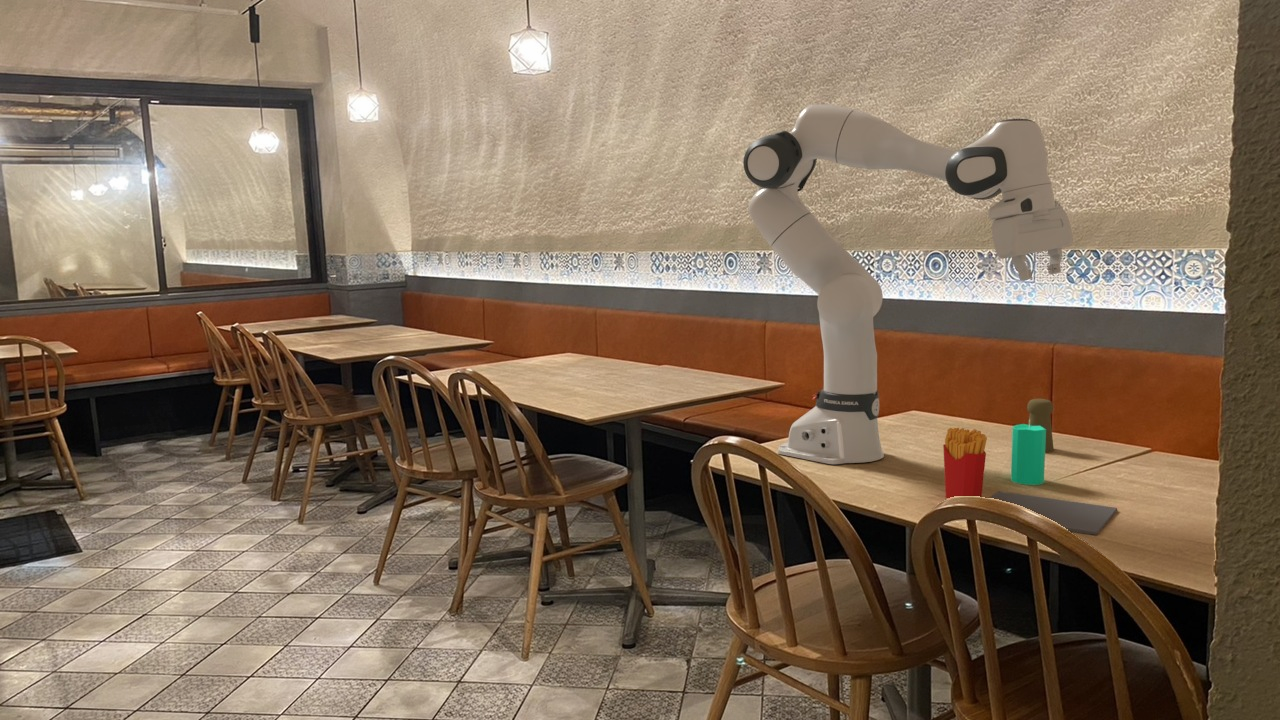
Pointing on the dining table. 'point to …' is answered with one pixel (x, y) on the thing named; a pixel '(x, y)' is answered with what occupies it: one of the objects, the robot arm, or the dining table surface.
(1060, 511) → the mat
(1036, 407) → the cork
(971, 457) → the french fries
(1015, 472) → the candle
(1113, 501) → the dining table surface
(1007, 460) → the dining table surface
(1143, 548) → the dining table surface
